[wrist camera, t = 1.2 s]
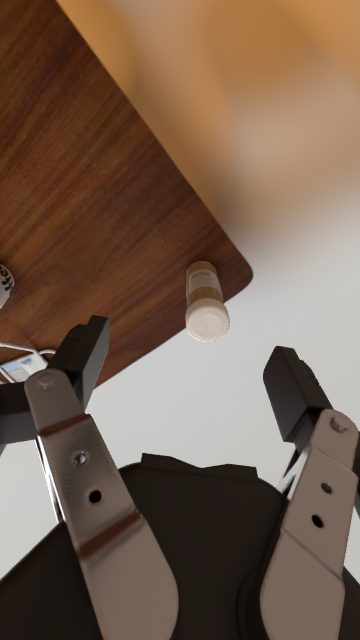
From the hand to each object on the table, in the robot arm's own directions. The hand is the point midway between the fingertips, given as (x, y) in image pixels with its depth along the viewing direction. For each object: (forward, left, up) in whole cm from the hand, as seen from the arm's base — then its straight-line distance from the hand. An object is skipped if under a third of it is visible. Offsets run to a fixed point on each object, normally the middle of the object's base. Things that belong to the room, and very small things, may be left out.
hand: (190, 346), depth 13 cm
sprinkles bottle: (+4, +7, -26) cm, 27 cm away
